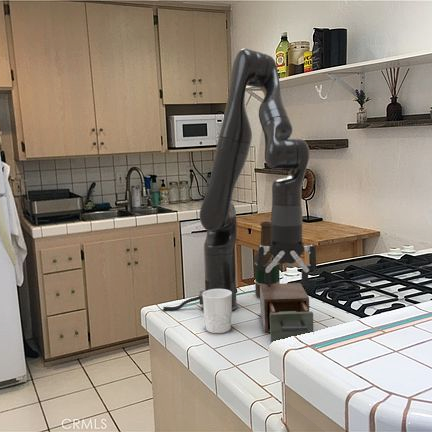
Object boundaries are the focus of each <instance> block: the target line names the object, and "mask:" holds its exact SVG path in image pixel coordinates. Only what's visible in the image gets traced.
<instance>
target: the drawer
mask: <svg viewBox="0 0 432 432" xmlns="http://www.w3.org/2000/svg"><path fill="white" fill-rule="evenodd" d="M286 311H296V312H286ZM279 312H281V313H279ZM268 323H269V326H270V333H269V337H270V339H269V341H270V343H271V342H273V341H276V340H280V339H285V338H288V337H291V336H297V335H301V334H305V333H310V332H313V333H314V312H313V311H310V310H309V311H308V309H307V307H306V305H305V303H304V301H292V302H268Z"/></svg>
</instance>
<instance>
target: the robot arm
mask: <svg viewBox="0 0 432 432" xmlns="http://www.w3.org/2000/svg"><path fill="white" fill-rule="evenodd" d="M247 86H248V87H252V88H256V89H259V90H261V91H262V93H263V98H262V101H261V103H260V104H259V108H258V119H259V124H260V127H261V129H262V131H263V136H264V160H265V164H266V165H267V166H268V167H269V168H271V170H289V172H288V175H287V176H285V177H282V178H278V179H275V180H274V181H273V182H272V186H271V211H270V222H271V244H270V246H263V245H260V244H259V245H258V246H257V247H258V248H257V251H258V262H257V267H258V270H261V271H264V272H265V284H266V285H267V286H268V287H271V272H270V271H271V270H272V268H273V267H274V266H275V265H276V264H277V263H278V262H279V264H281V265H282V264H294V263H295V262H296V263H297V265H298V266H299V267H300V268H301V269H302V270H301V285H302V287H303V288H306V286H308V284H309V272H311V271H316V270H317V253H316V251H317V250H316V246H315V245H314V244H313V243H310V244H308V245H304V244H303V207H302V192H303V191H302V189H303V183H304V178H305V175H306V171H307V168H308V164H309V160H310V154H311V153H310V151H311V150H310V147H309V145H308V143H307V141H305V140H304V139H301V138H291V136H292V134H293V125H292V123H291V120H290V117H289V115H288V113H287V110H286V106H285V103H284V101H283V95H282V89H281V82H280V77H279V70H278V66H277V62H276V60H275V59H274V57H273V56H272V55H269V54H267V53H263V52H260V51H257V50H253V49H249V48H242V49H240V50H239V51H238V52H237V53H236V55H235V58H234V60H233V63H232V69H231V74H230V80H229V86H228V94H227V99H226V105H225V111H224V114H223V118H222V122H221V123H222V124H221V127H220V131H219V134H218V139H217V143H216V149H215V154H214V158H213V163H212V168H211V174H210V178H209V183H208V186H207V189H206V192H205V196H204V199H203V201H202V204H201V207H200V210H199V221H200V224H201V226H202V227H203V228H204V229H205V230H206V237H205V241H204V243H203V256H204V259H203V260H204V290H199V294H198V295H199V296H195V297H191V298H189V299H186V300H184V301H182V302H181V303H180V304H179V305H177V306H163V307H162V309H163V311H176V310H177V311H178V310H180V309H182V308H183V307H184V306H185V305H187V304H189V303H191V302H196V301H199V305H200V306H203V295H202V293H203V292H204V291H207V290H210V289H226V290H229V291H231V292H232V310H231V311H235V310H236V309H237V308H238V303H237V301H238V300H237V294H238V288H237V274H236V270H237V269H236V242H237V210H236V207H235V205H234V203H233V202H232V198H233V193H234V189H235V186H236V184H237V182H238V179H239V178H240V176H241V173H242V171H243V170H244V167H245V166H246V165H245V164H246V162H247V159H248V156H249V152H250V150H251V149H250V148H251V144H252V139H253V131H252V128H251V122H250V120H249V116H248V113H247V109H246V103H245V101H246V99H245V98H246V90H247ZM267 251H270V252H271V254H272V255H273V256H272V257H271V259H270V260H269V262H268V263H267V265H266V266H265V265H263V256H264V255H266V254H267ZM304 251H305V252H306V254H307V255H308V256H309V257H308V258H309V259H308V260H309V263H308V264H306V263H305V261H304V260H303V259H302V258H301V255H302V254H303V253H304Z"/></svg>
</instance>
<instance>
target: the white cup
mask: <svg viewBox="0 0 432 432" xmlns="http://www.w3.org/2000/svg"><path fill="white" fill-rule="evenodd" d="M203 291H204V292H203V293H202V295H203V305H202V306H203V316H204V321H205V322H204V323H205V329H206V331H207V332H208V333H212V334H224V333H227V332H229V331H231V328H232V322H231V321H232V313H233V312H232V311H233V310H232V292H231V291H229V290H226V289H210V290H207V291H205V290H203ZM231 310H232V311H231Z"/></svg>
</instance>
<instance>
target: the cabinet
mask: <svg viewBox="0 0 432 432" xmlns="http://www.w3.org/2000/svg"><path fill="white" fill-rule="evenodd" d="M259 301H260V302H259V303H260V304H259V305H260V307H259V308H260V309H259V310H260V318H261V322H262V326H263V331H264V333H265V334H266V333H267V334H270V326H269V323H268V302H292V301H304V303H305V305H306V307H307V309H308V311H309V312H310V297H309V295H308V294H307V292H306V290H305V287H302V282H290V283H288V282H285V283H280V284H271V287H268V286H267V285H266V284H260V298H259Z"/></svg>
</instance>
